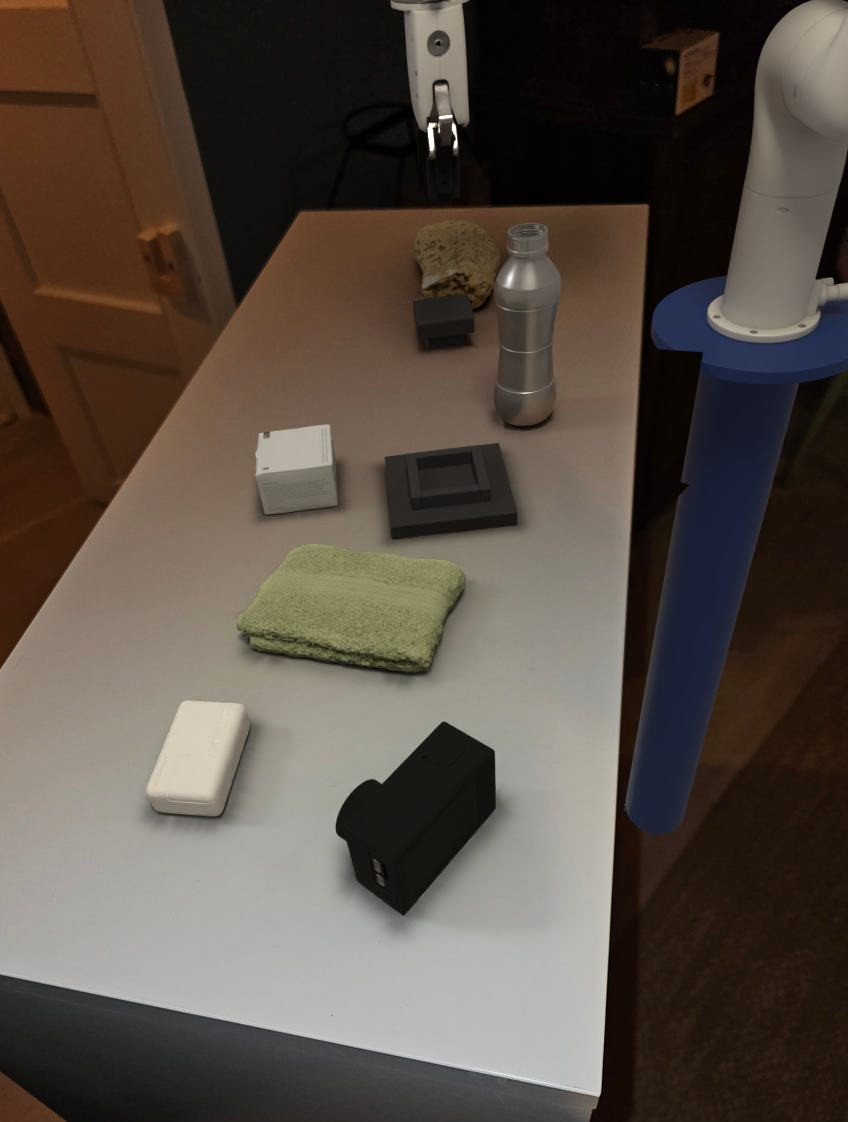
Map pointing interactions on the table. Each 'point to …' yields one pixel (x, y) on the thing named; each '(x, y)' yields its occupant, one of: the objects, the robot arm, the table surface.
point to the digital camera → (418, 815)
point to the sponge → (456, 260)
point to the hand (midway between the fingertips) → (438, 183)
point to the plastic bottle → (526, 327)
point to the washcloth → (354, 607)
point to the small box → (296, 469)
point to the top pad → (444, 320)
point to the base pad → (449, 491)
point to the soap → (199, 758)
